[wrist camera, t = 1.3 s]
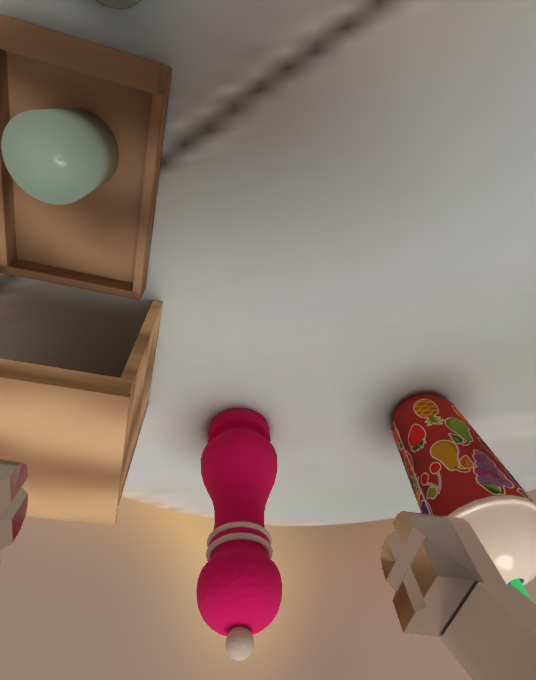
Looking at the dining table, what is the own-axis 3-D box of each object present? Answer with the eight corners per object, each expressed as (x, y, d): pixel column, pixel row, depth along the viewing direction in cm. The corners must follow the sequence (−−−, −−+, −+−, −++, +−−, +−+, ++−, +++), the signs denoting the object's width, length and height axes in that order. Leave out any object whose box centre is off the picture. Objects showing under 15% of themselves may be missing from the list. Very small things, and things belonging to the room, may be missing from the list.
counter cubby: (-8, 265, 32) (-139, 355, 21) (164, 300, 34) (129, 397, 23) (2, 384, 37) (-97, 503, 26) (149, 406, 40) (115, 525, 29)
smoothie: (375, 445, 44) (461, 663, 27) (385, 384, 40) (496, 598, 23) (449, 441, 45) (579, 653, 28) (467, 380, 40) (636, 587, 23)
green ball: (42, 97, 25) (-2, 97, 21) (121, 119, 26) (96, 124, 21) (43, 176, 28) (3, 193, 23) (116, 194, 29) (92, 213, 24)
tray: (0, 15, 24) (-46, -1, 20) (171, 68, 26) (159, 63, 22) (13, 260, 31) (-18, 283, 27) (145, 288, 33) (133, 313, 29)
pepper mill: (262, 395, 40) (279, 620, 23) (282, 445, 44) (310, 670, 26) (193, 414, 41) (160, 646, 23) (218, 462, 44) (206, 692, 27)
